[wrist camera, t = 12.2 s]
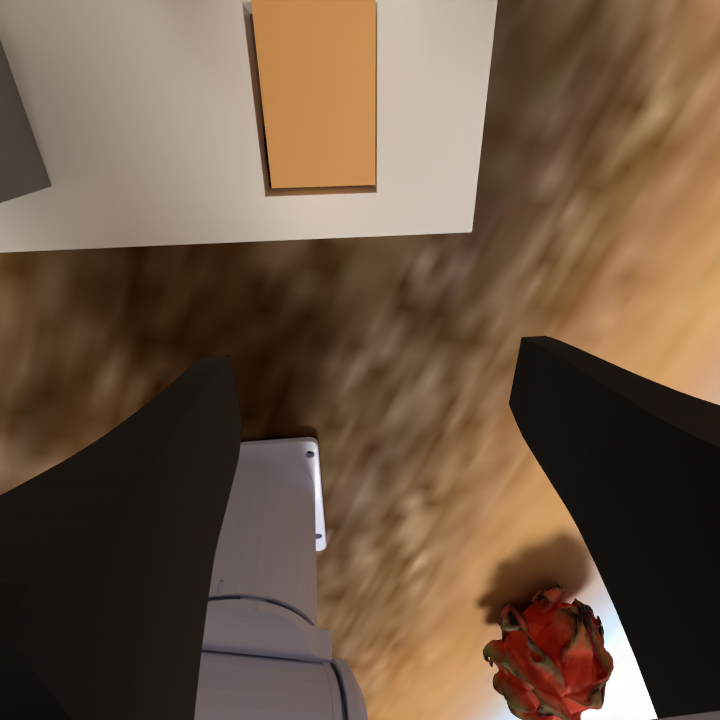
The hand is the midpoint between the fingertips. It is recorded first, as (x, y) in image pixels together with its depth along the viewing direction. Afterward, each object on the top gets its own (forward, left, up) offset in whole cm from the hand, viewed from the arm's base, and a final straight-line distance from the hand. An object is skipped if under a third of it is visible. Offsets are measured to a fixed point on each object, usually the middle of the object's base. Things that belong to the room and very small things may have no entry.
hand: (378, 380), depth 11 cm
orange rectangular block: (+6, +1, -11) cm, 12 cm away
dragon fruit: (-30, -14, -11) cm, 35 cm away
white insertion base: (+6, +6, -10) cm, 13 cm away
